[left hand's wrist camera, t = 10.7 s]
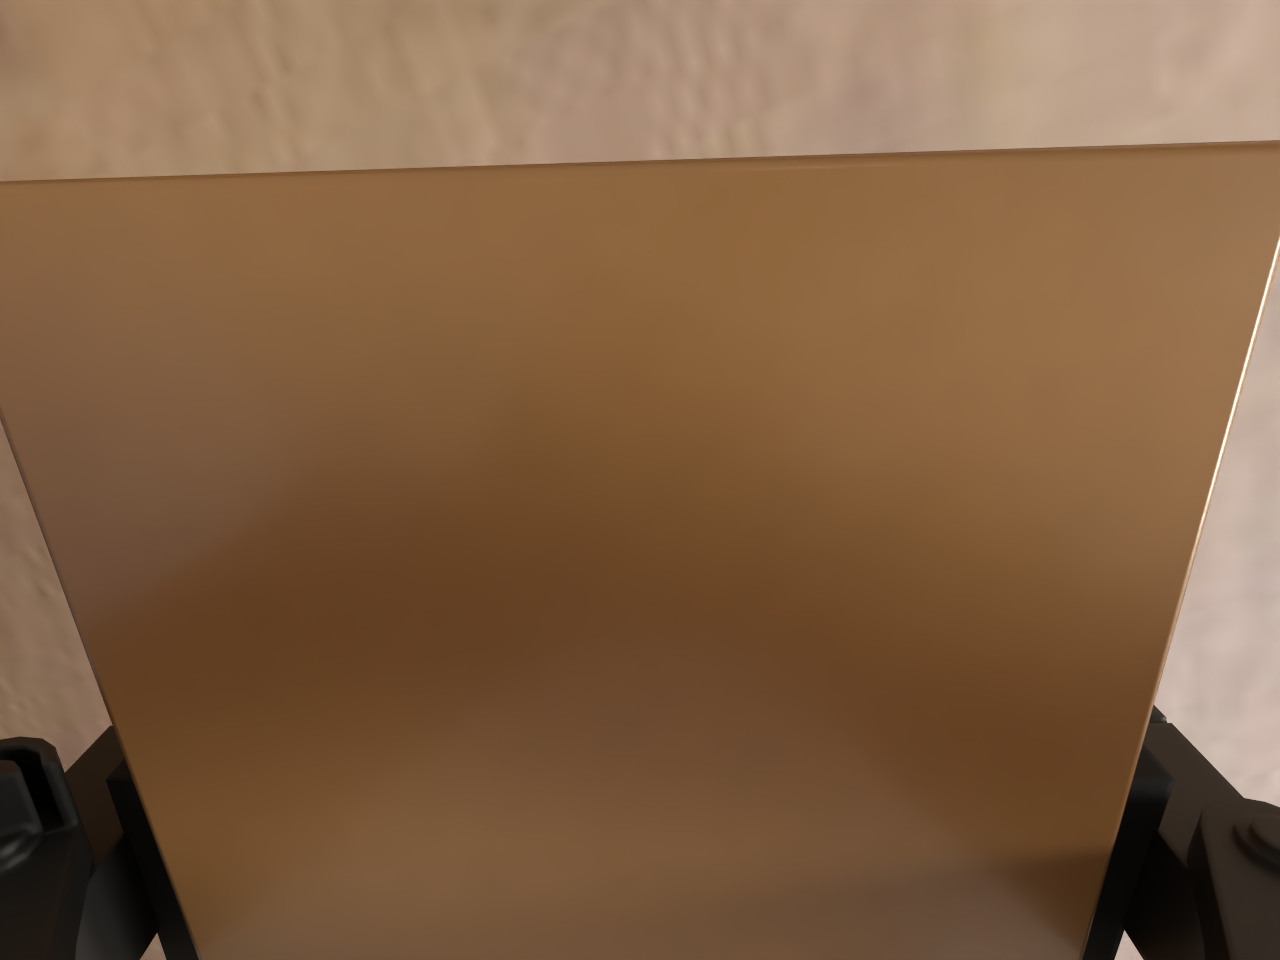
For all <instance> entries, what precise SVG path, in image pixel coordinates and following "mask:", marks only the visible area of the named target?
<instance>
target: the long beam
mask: <svg viewBox="0 0 1280 960" xmlns="http://www.w3.org/2000/svg"><path fill="white" fill-rule="evenodd" d="M1279 256H1280V140H1272V141H1241V142H1210V143H1179V144H1148V145H1117V146H1086V147H1055V148H1023V149H992V150H961V151H930V152H899V153H868V154H837V155H806V156H775V157H744V158H713V159H682V160H651V161H620V162H589V163H558V164H527V165H496V166H465V167H434V168H403V169H372V170H341V171H310V172H279V173H248V174H217V175H186V176H155V177H124V178H93V179H62V180H31V181H0V419H1V422H2V425H3V427H4V430H5V433H6V436H7V438H8V441H9V444H10V447H11V449H12V452H13V455H14V457H15V460H16V463H17V466H18V468H19V471H20V474H21V476H22V479H23V482H24V485H25V487H26V490H27V493H28V496H29V498H30V501H31V504H32V506H33V509H34V512H35V515H36V517H37V520H38V523H39V526H40V528H41V531H42V534H43V536H44V539H45V542H46V545H47V547H48V550H49V553H50V556H51V558H52V561H53V564H54V566H55V569H56V572H57V575H58V577H59V580H60V583H61V585H62V588H63V591H64V594H65V596H66V599H67V602H68V605H69V607H70V610H71V613H72V615H73V618H74V621H75V624H76V626H77V629H78V632H79V635H80V637H81V640H82V643H83V645H84V648H85V651H86V654H87V656H88V659H89V662H90V665H91V667H92V670H93V673H94V675H95V678H96V681H97V684H98V686H99V689H100V692H101V694H102V697H103V700H104V703H105V705H106V708H107V711H108V714H109V716H110V719H111V722H112V724H113V727H114V730H115V733H116V735H117V738H118V741H119V744H120V746H121V749H122V752H123V754H124V757H125V760H126V763H127V765H128V768H129V771H130V774H131V776H132V779H133V782H134V784H135V787H136V790H137V793H138V795H139V798H140V801H141V803H142V806H143V809H144V812H145V814H146V817H147V820H148V823H149V825H150V828H151V831H152V833H153V836H154V839H155V842H156V844H157V847H158V850H159V853H160V855H161V858H162V861H163V863H164V866H165V869H166V872H167V874H168V877H169V880H170V883H171V885H172V888H173V891H174V893H175V896H176V899H177V902H178V904H179V907H180V910H181V912H182V915H183V918H184V921H185V923H186V926H187V929H188V932H189V934H190V937H191V940H192V942H193V945H194V948H195V951H196V953H197V956H198V959H199V960H1082V958H1083V954H1084V951H1085V947H1086V944H1087V940H1088V936H1089V933H1090V929H1091V926H1092V922H1093V919H1094V915H1095V911H1096V908H1097V904H1098V901H1099V897H1100V894H1101V890H1102V887H1103V883H1104V879H1105V876H1106V872H1107V869H1108V865H1109V862H1110V858H1111V855H1112V851H1113V847H1114V844H1115V840H1116V837H1117V833H1118V830H1119V826H1120V822H1121V819H1122V815H1123V812H1124V808H1125V805H1126V801H1127V798H1128V794H1129V790H1130V787H1131V783H1132V780H1133V776H1134V773H1135V769H1136V765H1137V762H1138V758H1139V755H1140V751H1141V748H1142V744H1143V741H1144V737H1145V733H1146V730H1147V726H1148V723H1149V719H1150V716H1151V712H1152V708H1153V705H1154V701H1155V698H1156V694H1157V691H1158V687H1159V684H1160V680H1161V676H1162V673H1163V669H1164V666H1165V662H1166V659H1167V655H1168V652H1169V648H1170V644H1171V641H1172V637H1173V634H1174V630H1175V627H1176V623H1177V619H1178V616H1179V612H1180V609H1181V605H1182V602H1183V598H1184V595H1185V591H1186V587H1187V584H1188V580H1189V577H1190V573H1191V570H1192V566H1193V562H1194V559H1195V555H1196V552H1197V548H1198V545H1199V541H1200V538H1201V534H1202V530H1203V527H1204V523H1205V520H1206V516H1207V513H1208V509H1209V506H1210V502H1211V498H1212V495H1213V491H1214V488H1215V484H1216V481H1217V477H1218V473H1219V470H1220V466H1221V463H1222V459H1223V456H1224V452H1225V449H1226V445H1227V441H1228V438H1229V434H1230V431H1231V427H1232V424H1233V420H1234V416H1235V413H1236V409H1237V406H1238V402H1239V399H1240V395H1241V392H1242V388H1243V384H1244V381H1245V377H1246V374H1247V370H1248V367H1249V363H1250V359H1251V356H1252V352H1253V349H1254V345H1255V342H1256V338H1257V335H1258V331H1259V327H1260V324H1261V320H1262V317H1263V313H1264V310H1265V306H1266V303H1267V299H1268V295H1269V292H1270V288H1271V285H1272V281H1273V278H1274V274H1275V270H1276V267H1277V263H1278V260H1279Z"/></svg>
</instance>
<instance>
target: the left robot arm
mask: <svg viewBox="0 0 1280 960" xmlns="http://www.w3.org/2000/svg"><path fill="white" fill-rule="evenodd" d="M1124 930H1125V931H1126V933H1127V934H1128V936H1129V938H1130V939H1131V941H1132V942H1133V944H1134V945H1135V947H1136V948H1137V950H1138V952H1139V953H1140V955H1141V956H1142V958H1143V959H1144V960H1280V807H1277V806H1274V805H1272V804H1269V803H1266V802H1262V801H1257V800H1251V799H1246V798H1243V797H1242V796H1241V795H1240V794H1239V793H1238V791H1237V790H1236V789H1235V788H1234V787H1233V786H1232V785H1231V784H1230V783H1229V782H1228V781H1227V780H1226V779H1225V778H1224V777H1223V776H1222V775H1221V774H1220V773H1219V772H1218V771H1217V770H1216V769H1215V768H1214V767H1213V766H1212V765H1211V764H1210V762H1209V761H1208V760H1207V759H1206V758H1205V757H1204V756H1203V755H1202V754H1201V753H1200V752H1199V751H1198V750H1197V749H1196V748H1195V747H1194V746H1193V745H1192V744H1191V743H1190V742H1189V741H1188V740H1187V739H1186V738H1185V737H1184V736H1183V735H1182V733H1181V732H1180V731H1179V730H1178V729H1177V728H1176V727H1175V726H1174V725H1173V724H1172V723H1167V721H1166V717H1165V716H1164V715H1163V714H1162V713H1161V712H1160V711H1159V710H1158V709H1157V708H1156V707H1155V706H1154V705H1153V708H1152V712H1151V716H1150V719H1149V723H1148V726H1147V730H1146V733H1145V737H1144V741H1143V744H1142V748H1141V751H1140V755H1139V758H1138V762H1137V765H1136V769H1135V773H1134V776H1133V780H1132V783H1131V787H1130V790H1129V794H1128V798H1127V801H1126V805H1125V808H1124V812H1123V815H1122V819H1121V822H1120V826H1119V830H1118V833H1117V837H1116V840H1115V844H1114V847H1113V851H1112V855H1111V858H1110V862H1109V865H1108V869H1107V872H1106V876H1105V879H1104V883H1103V887H1102V890H1101V894H1100V897H1099V901H1098V904H1097V908H1096V911H1095V915H1094V919H1093V922H1092V926H1091V929H1090V933H1089V936H1088V940H1087V944H1086V947H1085V951H1084V954H1083V958H1082V960H1114V959H1115V956H1116V953H1117V950H1118V947H1119V944H1120V941H1121V938H1122V935H1123V932H1124ZM156 933H158V936H159V939H160V942H161V945H162V948H163V951H164V954H165V956H166V959H167V960H199V959H198V956H197V953H196V951H195V948H194V945H193V942H192V940H191V937H190V934H189V932H188V929H187V926H186V923H185V921H184V918H183V915H182V912H181V910H180V907H179V904H178V902H177V899H176V896H175V893H174V891H173V888H172V885H171V883H170V880H169V877H168V874H167V872H166V869H165V866H164V863H163V861H162V858H161V855H160V853H159V850H158V847H157V844H156V842H155V839H154V836H153V833H152V831H151V828H150V825H149V823H148V820H147V817H146V814H145V812H144V809H143V806H142V803H141V801H140V798H139V795H138V793H137V790H136V787H135V784H134V782H133V779H132V776H131V774H130V771H129V768H128V765H127V763H126V760H125V757H124V754H123V752H122V749H121V746H120V744H119V741H118V738H117V735H116V733H115V730H114V727H113V726H109V728H108V729H107V730H106V731H105V732H104V733H103V734H102V735H101V736H100V737H99V738H98V739H97V740H96V741H95V742H94V743H93V744H92V745H91V746H90V747H89V748H88V749H87V750H86V752H85V753H84V754H83V755H82V756H81V757H80V758H79V759H78V760H77V761H76V762H75V763H74V764H73V765H72V766H71V767H70V768H69V769H68V770H67V771H66V772H65V773H64V770H63V767H62V764H61V762H60V759H59V756H58V753H57V751H56V748H55V747H54V746H53V745H51V744H50V743H48V742H47V741H45V740H44V739H40V738H29V737H15V738H8V739H2V740H0V960H140V959H141V957H142V955H143V954H144V952H145V951H146V949H147V948H148V946H149V944H150V943H151V941H152V940H153V938H154V937H155V935H156Z"/></svg>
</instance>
